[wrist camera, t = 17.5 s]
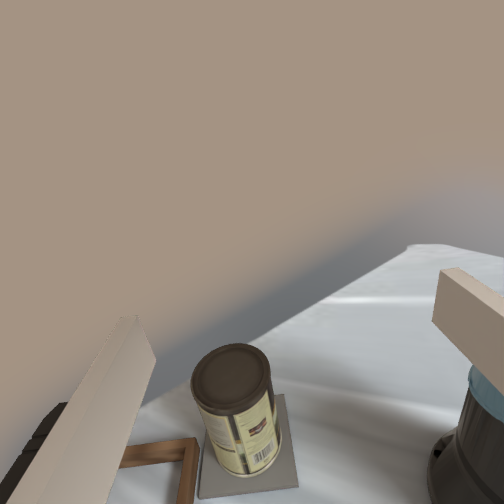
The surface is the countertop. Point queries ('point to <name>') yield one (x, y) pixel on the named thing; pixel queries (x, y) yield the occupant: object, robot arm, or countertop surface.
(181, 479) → the brown wooden square frame
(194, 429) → the countertop surface
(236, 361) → the coffee can
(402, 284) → the countertop surface
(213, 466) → the mat
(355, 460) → the countertop surface
